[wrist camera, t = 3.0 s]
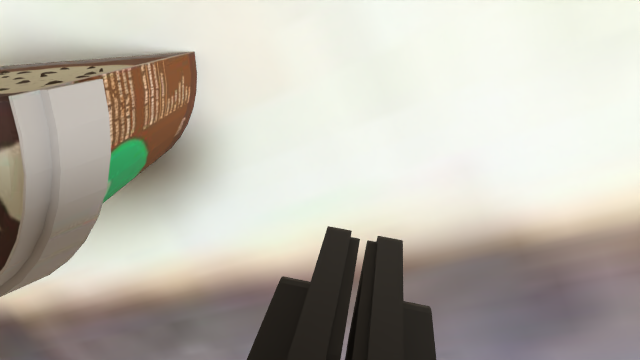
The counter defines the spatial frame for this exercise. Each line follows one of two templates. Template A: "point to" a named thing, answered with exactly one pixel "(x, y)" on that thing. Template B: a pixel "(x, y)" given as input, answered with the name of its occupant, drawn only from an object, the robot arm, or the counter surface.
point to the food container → (79, 148)
